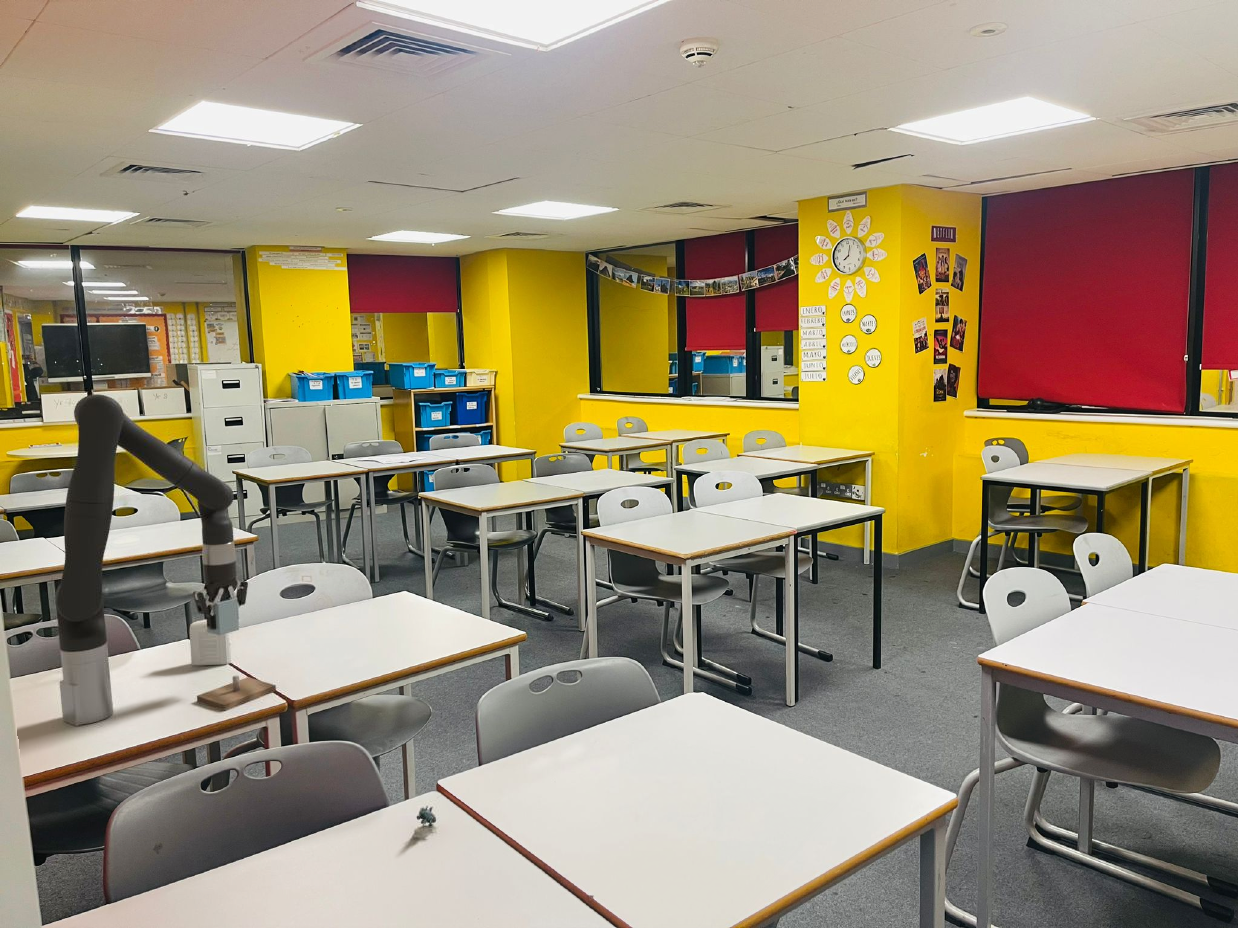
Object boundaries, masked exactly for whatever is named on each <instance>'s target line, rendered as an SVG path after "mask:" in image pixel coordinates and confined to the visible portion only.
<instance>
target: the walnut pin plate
mask: <svg viewBox="0 0 1238 928" xmlns="http://www.w3.org/2000/svg"><path fill="white" fill-rule="evenodd" d="M276 691H277V685H275V684H273V683H269V682H265V681H262V680H258V679H255V678H252V677H249V676H247V677H245V678H241V679H240V676H239V675H233V676H232V682H231V683H229V684H225V685H223V686H220V687H217V688H214V689H211V690H209V691H206V692H203V693H201V694H198V695H196V701H197V703H200V704H203V705H206V706H209V707H212V708H215V709H218V710H222V711H224V712H225V711H228V710H231V709H234V708H237V707H238V706H241V705H245V704H246V703H248V702H251V701H254V700H256V699H257V700H258V699H260V698H262V697H264V696H267V695H269V694H272V693H275V692H276Z"/></svg>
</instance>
